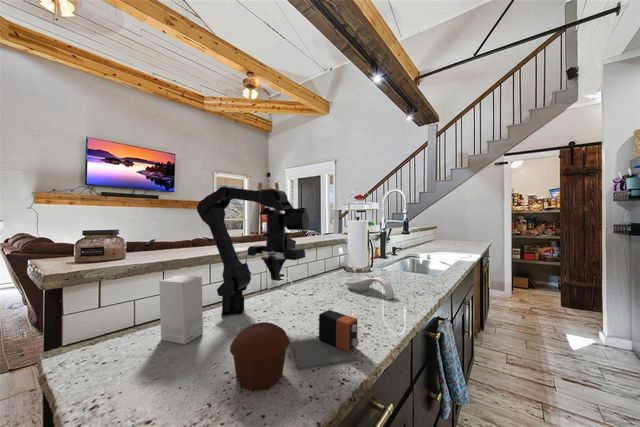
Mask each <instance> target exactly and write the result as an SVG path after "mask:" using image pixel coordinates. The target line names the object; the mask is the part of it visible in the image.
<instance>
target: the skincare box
mask: <svg viewBox="0 0 640 427" xmlns="http://www.w3.org/2000/svg"><path fill="white" fill-rule="evenodd" d="M158 282H159V283H158V284H159V314H160V315H159V316H160V317H159V318H160V341H165V342H171V343H176V344H180V345H186V344H188V343H189V342H191V341H193V340H195V339H196V338H198V337H200V336H201V335H203V334H204V320H203V319H204V318H203V315H204V314H203V277H202V276H197V275H181V274H179V275H174V276H171V277H169V278H168V277H167V278H165V279H161V280H159V281H158Z"/></svg>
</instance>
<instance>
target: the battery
mask: <svg viewBox="0 0 640 427" xmlns="http://www.w3.org/2000/svg"><path fill="white" fill-rule="evenodd" d="M358 329H359V326H358V318H356V317H353V316H350V315H347V314H344V313H341V312H337V311H334V310H331V309H327V310H325V311H324V312H321V313H319V314H318V338H319V340H320V341H322V342H325V343H327V344H329V345H332V346H334V347H336V348H339V349H341V350H343V351H346V352H349V351H350V350H351V351H352V350H353V349H356V348H358V347H359V339H358Z"/></svg>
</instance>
